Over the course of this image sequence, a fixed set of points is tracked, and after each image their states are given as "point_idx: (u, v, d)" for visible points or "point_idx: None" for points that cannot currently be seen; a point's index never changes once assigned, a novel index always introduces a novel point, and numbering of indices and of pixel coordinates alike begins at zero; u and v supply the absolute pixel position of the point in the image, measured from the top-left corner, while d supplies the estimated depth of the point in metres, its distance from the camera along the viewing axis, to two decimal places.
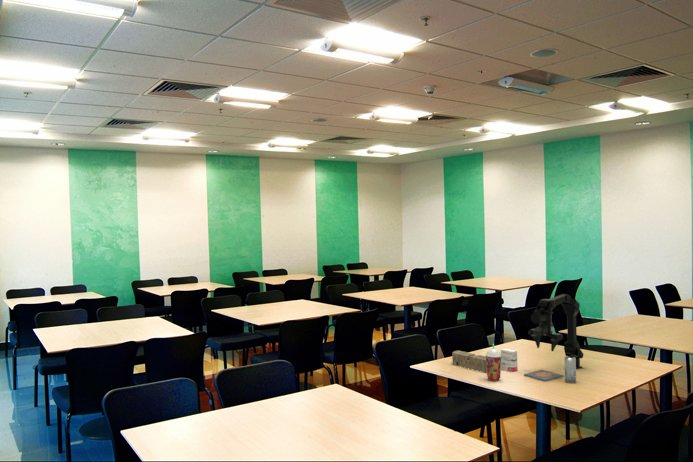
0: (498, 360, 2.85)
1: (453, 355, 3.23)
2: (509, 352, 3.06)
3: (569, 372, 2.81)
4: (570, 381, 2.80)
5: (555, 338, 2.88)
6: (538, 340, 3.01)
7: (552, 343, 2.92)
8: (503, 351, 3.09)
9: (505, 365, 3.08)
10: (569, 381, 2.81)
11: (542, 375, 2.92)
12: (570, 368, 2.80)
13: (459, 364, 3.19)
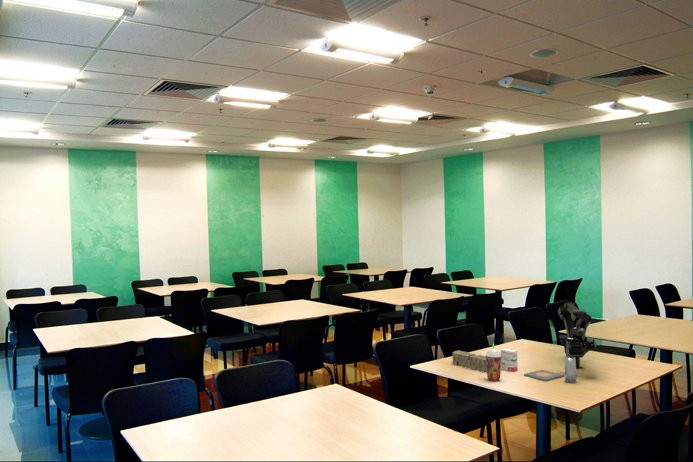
0: (498, 360, 2.85)
1: (453, 355, 3.23)
2: (509, 352, 3.06)
3: (569, 372, 2.81)
4: (570, 381, 2.80)
5: (592, 340, 2.86)
6: (566, 346, 2.95)
7: (585, 347, 2.87)
8: (503, 351, 3.09)
9: (505, 365, 3.08)
10: (569, 381, 2.81)
11: (542, 375, 2.92)
12: (570, 368, 2.80)
13: (459, 364, 3.19)
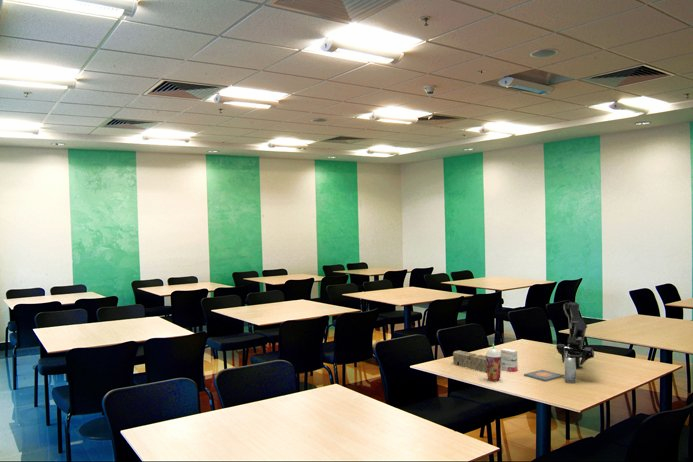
0: (498, 360, 2.85)
1: (454, 355, 3.23)
2: (509, 352, 3.06)
3: (569, 372, 2.81)
4: (570, 381, 2.80)
5: (590, 349, 2.82)
6: (564, 356, 2.90)
7: (583, 356, 2.83)
8: (503, 351, 3.09)
9: (505, 365, 3.08)
10: (569, 381, 2.81)
11: (542, 375, 2.92)
12: (570, 368, 2.80)
13: (460, 364, 3.19)
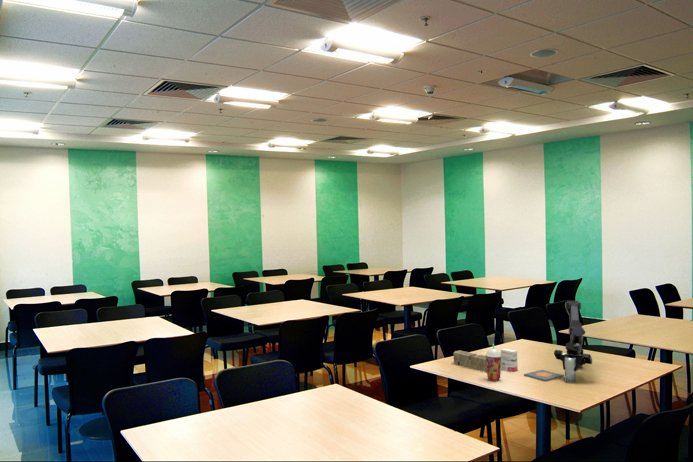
0: (498, 360, 2.85)
1: (454, 355, 3.23)
2: (509, 352, 3.06)
3: (569, 372, 2.81)
4: (570, 381, 2.80)
5: (587, 356, 2.79)
6: None
7: (578, 362, 2.81)
8: (503, 351, 3.09)
9: (505, 365, 3.08)
10: (569, 381, 2.81)
11: (542, 375, 2.92)
12: (570, 368, 2.80)
13: (460, 364, 3.19)
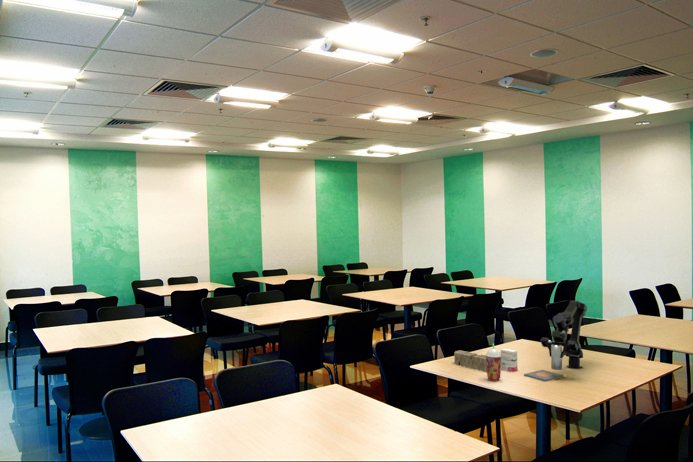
0: (498, 360, 2.85)
1: (455, 355, 3.23)
2: (509, 352, 3.06)
3: (555, 359, 2.87)
4: (556, 367, 2.86)
5: (573, 343, 2.85)
6: None
7: (564, 349, 2.87)
8: (503, 351, 3.09)
9: (505, 365, 3.08)
10: (555, 368, 2.87)
11: (542, 375, 2.92)
12: (556, 355, 2.86)
13: (461, 364, 3.19)
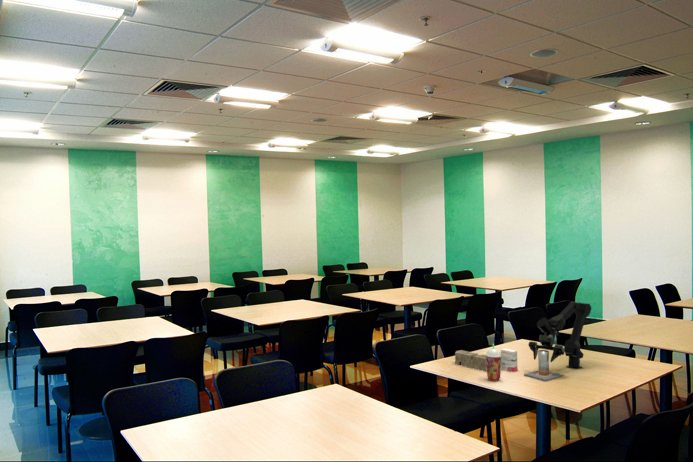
0: (498, 360, 2.85)
1: (456, 355, 3.23)
2: (509, 352, 3.06)
3: (542, 365, 2.92)
4: (543, 373, 2.92)
5: (560, 347, 2.91)
6: (536, 353, 2.99)
7: (554, 353, 2.92)
8: (503, 351, 3.09)
9: (505, 365, 3.08)
10: (542, 373, 2.92)
11: (542, 375, 2.92)
12: (543, 361, 2.92)
13: (462, 364, 3.20)
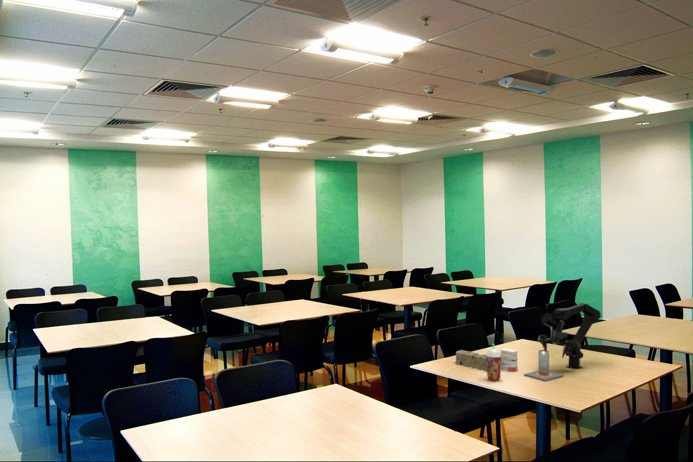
0: (498, 360, 2.85)
1: (457, 355, 3.23)
2: (509, 352, 3.06)
3: (542, 365, 2.92)
4: (543, 373, 2.92)
5: (572, 344, 2.99)
6: None
7: (565, 349, 3.00)
8: (503, 351, 3.09)
9: (505, 365, 3.08)
10: (542, 373, 2.92)
11: (542, 375, 2.92)
12: (543, 361, 2.92)
13: (463, 364, 3.20)
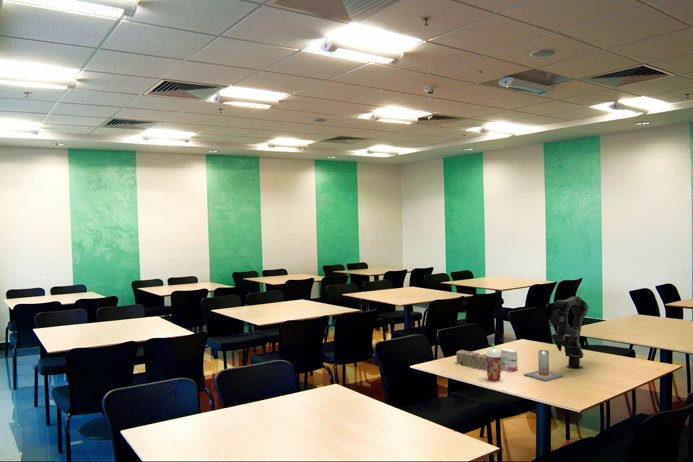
0: (498, 360, 2.85)
1: (457, 355, 3.24)
2: (509, 352, 3.06)
3: (542, 365, 2.92)
4: (543, 373, 2.92)
5: None
6: None
7: (568, 340, 3.05)
8: (503, 351, 3.09)
9: (505, 365, 3.08)
10: (542, 373, 2.92)
11: (542, 375, 2.92)
12: (543, 361, 2.92)
13: (464, 363, 3.20)
